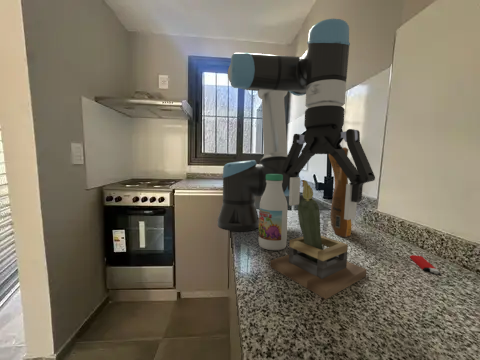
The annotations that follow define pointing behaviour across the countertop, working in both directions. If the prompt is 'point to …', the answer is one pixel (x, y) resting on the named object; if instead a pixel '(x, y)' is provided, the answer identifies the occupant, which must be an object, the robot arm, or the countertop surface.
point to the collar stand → (319, 266)
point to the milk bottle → (273, 215)
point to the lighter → (424, 264)
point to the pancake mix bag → (339, 200)
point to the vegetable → (309, 219)
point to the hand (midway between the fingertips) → (318, 211)
